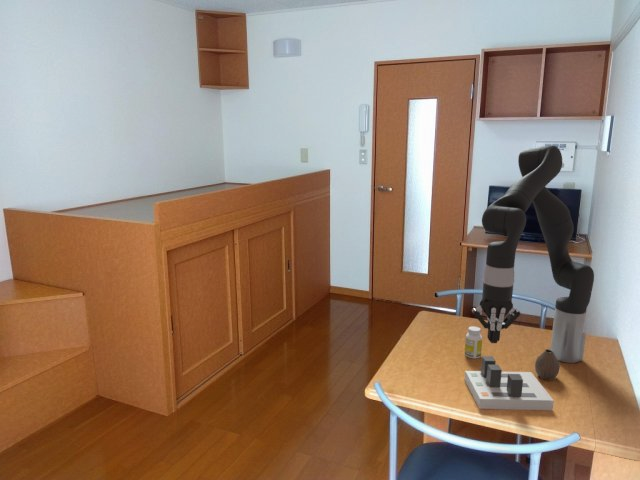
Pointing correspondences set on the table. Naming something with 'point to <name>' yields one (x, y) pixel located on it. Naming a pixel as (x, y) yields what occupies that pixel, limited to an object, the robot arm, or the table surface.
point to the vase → (547, 365)
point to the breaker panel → (505, 389)
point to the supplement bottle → (473, 342)
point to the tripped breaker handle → (514, 385)
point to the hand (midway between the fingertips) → (493, 341)
